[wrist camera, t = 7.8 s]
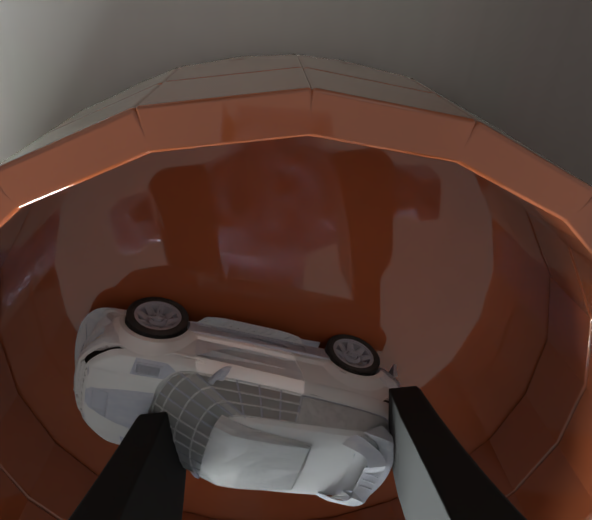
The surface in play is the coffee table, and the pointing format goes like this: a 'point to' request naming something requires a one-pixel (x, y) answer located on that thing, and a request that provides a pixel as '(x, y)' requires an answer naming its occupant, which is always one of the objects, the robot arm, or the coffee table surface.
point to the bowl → (303, 268)
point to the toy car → (241, 398)
